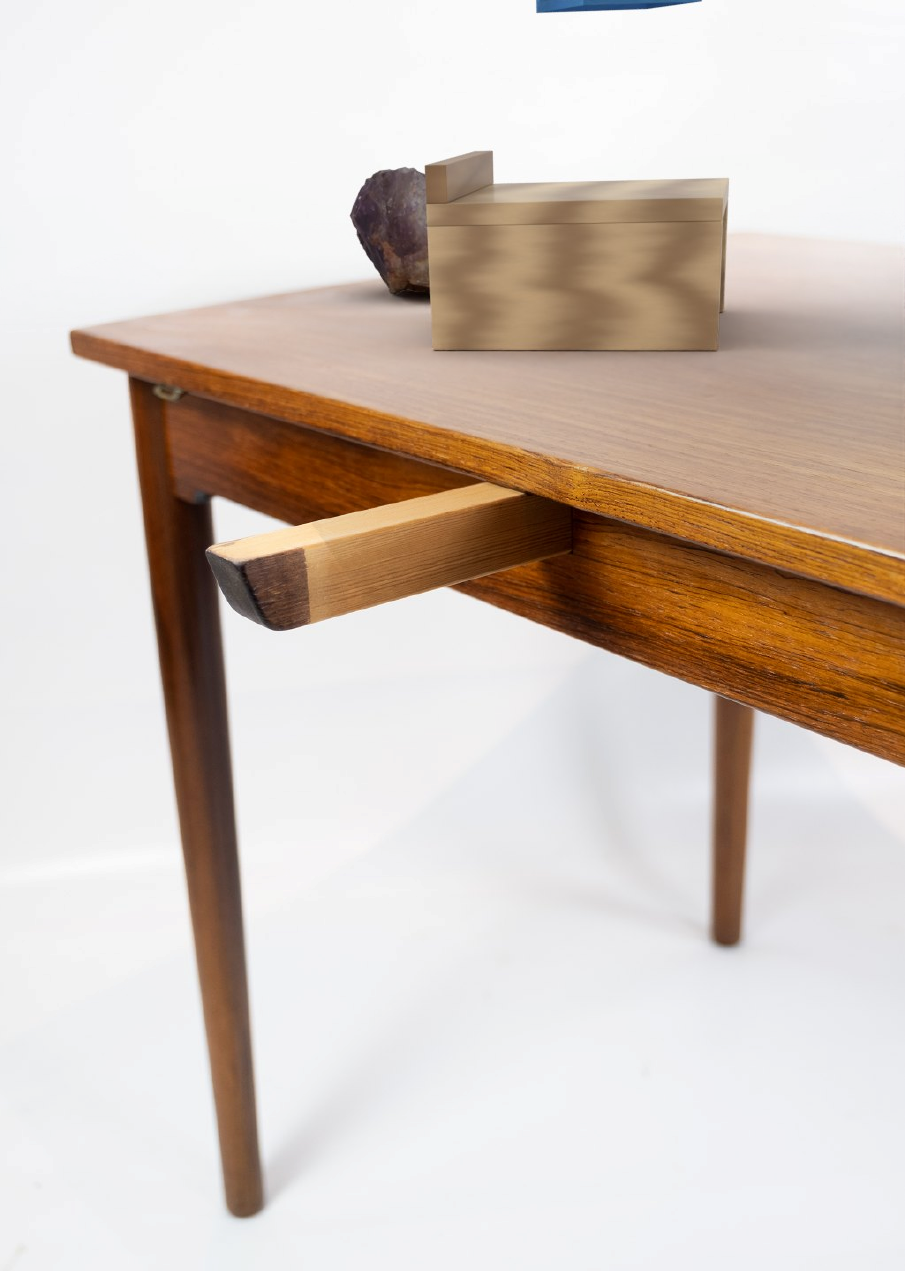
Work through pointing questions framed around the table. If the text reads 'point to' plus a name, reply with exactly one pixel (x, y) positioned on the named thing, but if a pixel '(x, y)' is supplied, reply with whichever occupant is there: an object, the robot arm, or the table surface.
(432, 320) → the wooden box with backstop
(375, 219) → the rock
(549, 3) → the perfume bottle
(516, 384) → the table surface
